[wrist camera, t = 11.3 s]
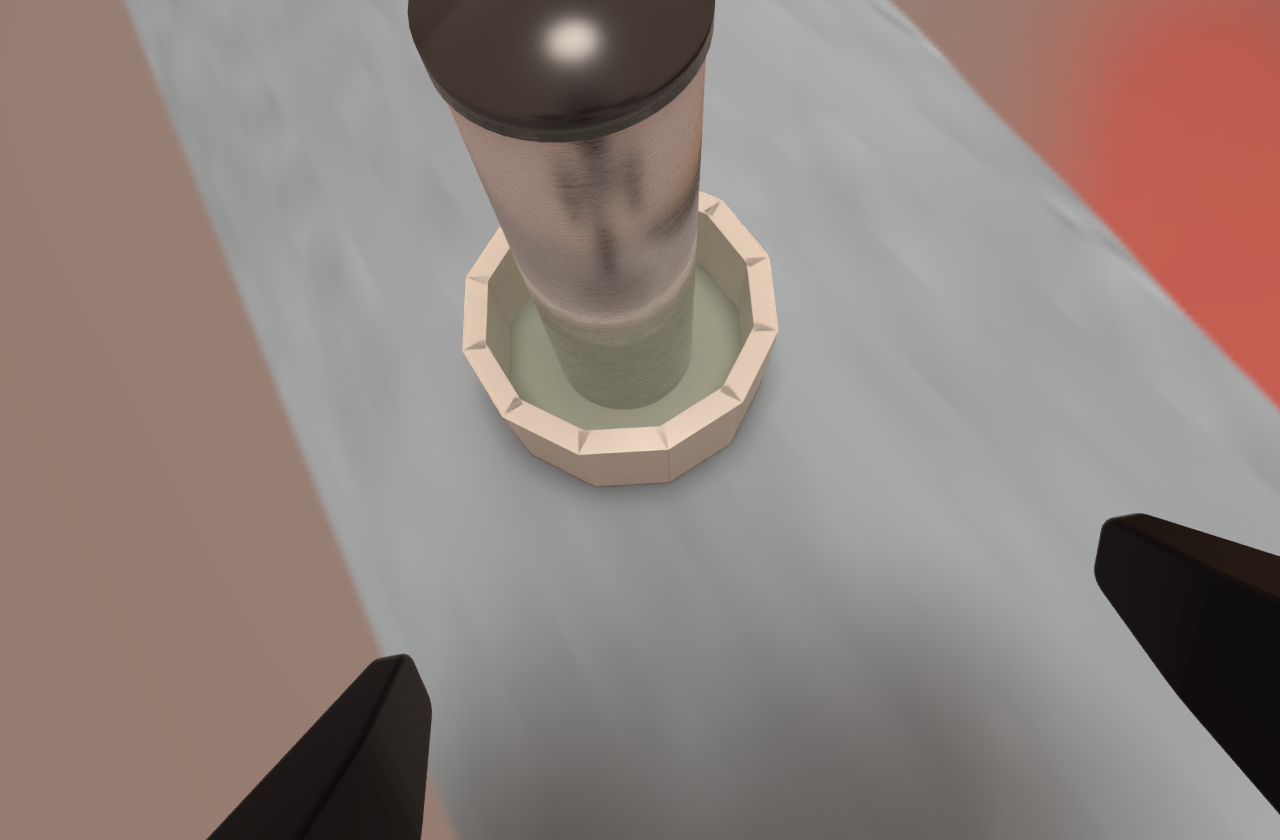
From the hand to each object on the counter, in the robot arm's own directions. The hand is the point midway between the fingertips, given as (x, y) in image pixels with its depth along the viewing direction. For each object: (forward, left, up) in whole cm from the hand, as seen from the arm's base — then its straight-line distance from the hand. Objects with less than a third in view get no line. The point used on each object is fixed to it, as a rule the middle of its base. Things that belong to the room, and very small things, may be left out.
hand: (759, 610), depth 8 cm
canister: (+9, +2, -12) cm, 15 cm away
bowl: (+9, +2, -13) cm, 16 cm away
